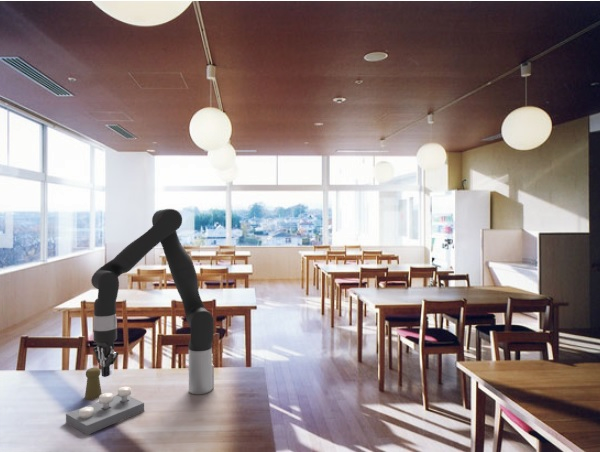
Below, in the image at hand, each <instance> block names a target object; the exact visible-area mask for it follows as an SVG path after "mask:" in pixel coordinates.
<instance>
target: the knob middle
mask: <svg viewBox="0 0 600 452" xmlns="http://www.w3.org/2000/svg"><path fill="white" fill-rule="evenodd" d="M113 396H114V394H113V393H111V392H105V393H102V394H101V395H100V396H99V398H98V402H99V403H100V404H103V410H107V409H109V403H110V402H112V401H113Z"/></svg>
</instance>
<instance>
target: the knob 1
mask: <svg viewBox="0 0 600 452" xmlns="http://www.w3.org/2000/svg"><path fill="white" fill-rule="evenodd" d="M84 407H85V408H83V407H81V408H82V409H80V408H79V409H80V410H79V418H82V419H85V418H89V417H92V416H93V415H94V408H93V407H86V406H84Z"/></svg>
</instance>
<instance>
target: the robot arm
mask: <svg viewBox="0 0 600 452" xmlns="http://www.w3.org/2000/svg"><path fill="white" fill-rule="evenodd" d="M151 222H152V226H151V227H150V228H149V229H148V230H147V231H146V232H144V233H143V234H142V235H140V236H139V237H138V238H136V239H134V240H133V241H132V242H130V243H129V244H128V245H127V246H125V247H124V248H122V250H121V251H120V252H118V254H116V256H115V257H114V258H113V259H111V260H110V261H108V262H106V263H105V264H104V265H102V266H101V267H99V268H98V269H96V271H94V273H93V275H92V276H91V280H90V281H91V285H92V287H93V288H95V289H97V298H96V299H95V300H94V304H93V313H94V314H93V315H94V316H93V321H92V322H93V342H94V343H96V346H94V347H93V348H92V351H93V353H94V357H95V359H96V362H97V364H99V365H100V366H101V377H103V378H108V377H110V375H111V374H110V369H111V368H110V367H111V366H113V365H115V362H116V360H117V358H118V356H119V352H118V351H115V350H114V349H115V344H114V342H115V341H116V340H117V339H118V318H117V298H118V293H119V289H120V280H119V277H120V276H121V275H122V274H126V273H128V272H130V271H131V270H132V269H134V267H135V266H136V265H137V264H138V263H140V261H141V260H142V259H143V258H144V257H145V256H147V254H148V253H150V252H151V250H152V249H154V248H155V247H156V246H157V245H159V244H161V247H162V250H163V252H164V255H165V259H166V262H167V265H168V268H169V272H170V275H171V278H172V280H173V282H174V285H175V288H176V290H177V292H178V294H179V297H180V299H181V301H182V305H183V309H184V313H185V320H186V323H187V325H188V326H189V328H190V338H189V339H190V340H189V341H188V392H189V394H193V395H204V394H208V393H210V392H211V391H212V390H213V389H214V388H215V365H214V364H213V342H214V329H215V327H214V325H215V322H214V317H213V314H212V313H211V312H210V311H208V309H206V308H205V306H204V304H203V303H204V302H203V300H202V298H201V296H200V292H199V282H198V281H199V280H198V275H197V271H196V267H195V264H194V262H193V260H192V259H191V256H190V255H189V253H188V252H187V250H186V249H185V247H184V246H183V245H182V243H181V241H180V239H179V237H178V232H177V231H178V229H180V228H181V226H182V223H183V217H182V213H181V212H179V211H178V210H177V209H174V208H165V209H159V210H156V212H155V213H153V216H152V218H151Z"/></svg>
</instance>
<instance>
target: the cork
mask: <svg viewBox="0 0 600 452" xmlns="http://www.w3.org/2000/svg"><path fill="white" fill-rule="evenodd" d="M100 375H101V369H100V368H99V367H90V368H87V370H86V371H85V378H86V386H85V392H84V393H85V394H84V399H85V400H88V401H89V400H90V401H92V400H97V399H99V396H100V395H101V394H103V393H102V387H101V380H100Z"/></svg>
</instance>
